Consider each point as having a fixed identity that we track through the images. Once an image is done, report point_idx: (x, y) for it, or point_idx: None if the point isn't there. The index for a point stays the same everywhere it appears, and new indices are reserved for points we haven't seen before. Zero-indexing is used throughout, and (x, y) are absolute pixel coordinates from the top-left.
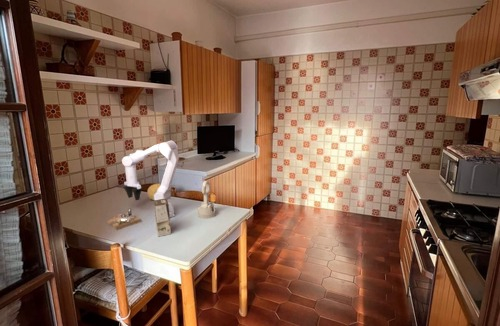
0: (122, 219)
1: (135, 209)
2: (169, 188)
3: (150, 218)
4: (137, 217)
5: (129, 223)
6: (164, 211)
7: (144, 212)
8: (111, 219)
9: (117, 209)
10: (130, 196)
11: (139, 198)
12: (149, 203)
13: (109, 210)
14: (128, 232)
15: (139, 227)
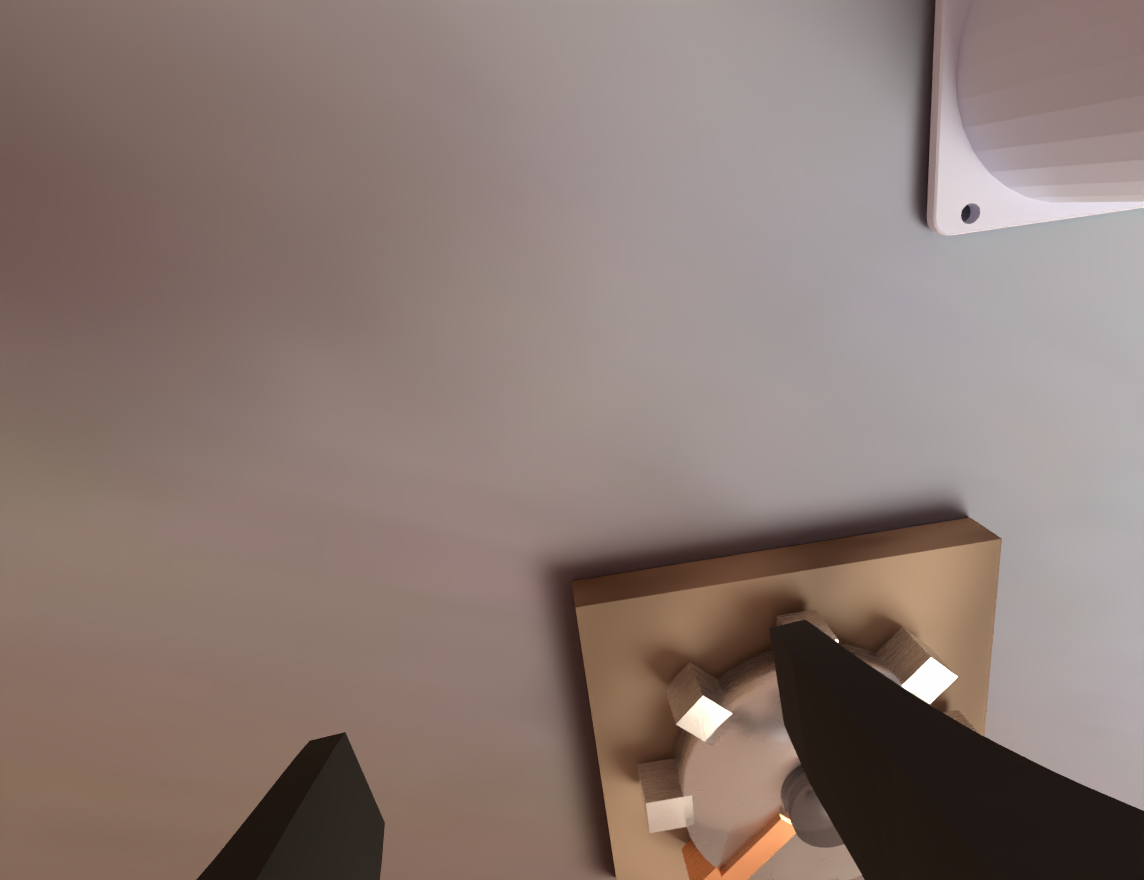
0: None
1: (282, 431)
2: None
3: (963, 348)
4: (871, 563)
5: (984, 707)
6: None
7: (586, 337)
8: (633, 872)
9: (70, 694)
10: (357, 812)
11: (829, 638)
12: (14, 4)
13: (49, 801)
14: (1134, 732)
15: (1126, 591)
